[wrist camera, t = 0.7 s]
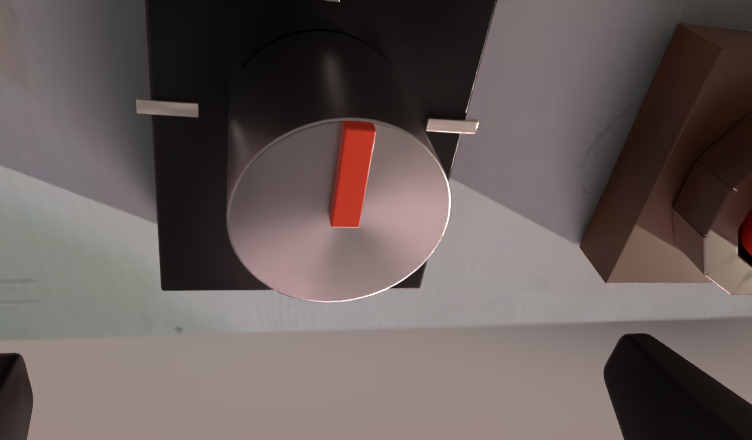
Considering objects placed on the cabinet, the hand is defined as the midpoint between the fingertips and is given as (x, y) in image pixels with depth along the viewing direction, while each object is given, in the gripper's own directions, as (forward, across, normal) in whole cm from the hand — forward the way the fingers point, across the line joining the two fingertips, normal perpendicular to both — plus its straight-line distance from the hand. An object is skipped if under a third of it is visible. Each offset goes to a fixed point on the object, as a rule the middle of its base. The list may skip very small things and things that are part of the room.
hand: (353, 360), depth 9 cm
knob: (+8, 0, 0) cm, 8 cm away
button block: (+11, -16, +2) cm, 20 cm away
